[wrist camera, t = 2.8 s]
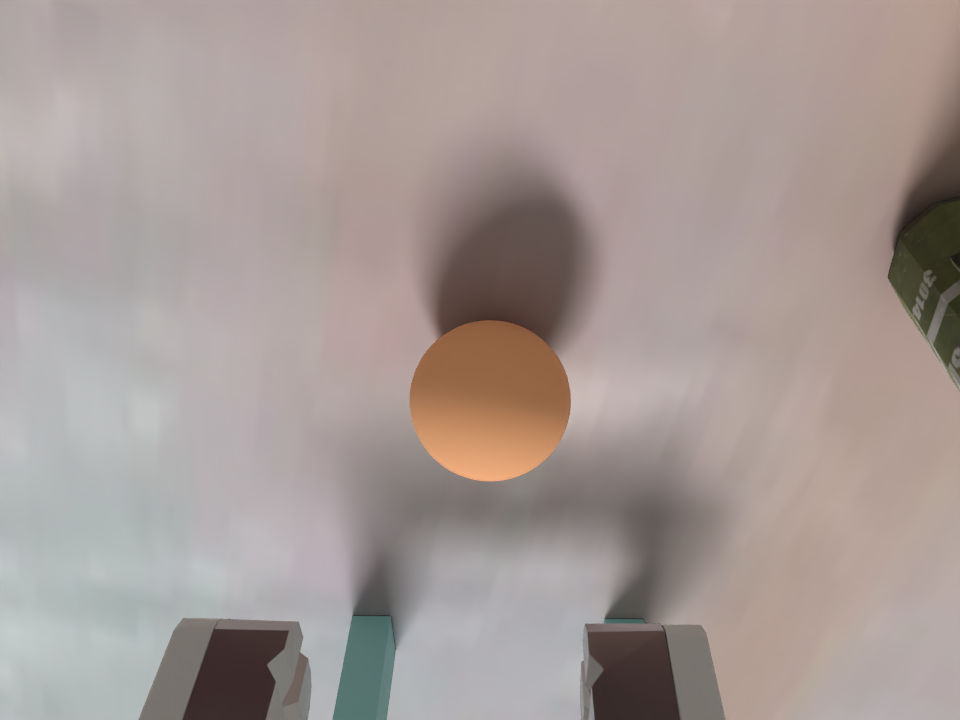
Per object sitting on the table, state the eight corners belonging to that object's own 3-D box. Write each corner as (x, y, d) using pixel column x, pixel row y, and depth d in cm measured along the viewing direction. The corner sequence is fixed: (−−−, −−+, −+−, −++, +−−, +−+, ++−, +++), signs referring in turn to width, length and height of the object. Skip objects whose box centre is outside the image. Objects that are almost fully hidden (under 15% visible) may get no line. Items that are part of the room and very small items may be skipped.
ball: (422, 412, 36) (408, 515, 31) (412, 290, 33) (394, 384, 28) (564, 412, 36) (572, 516, 31) (569, 289, 32) (578, 384, 27)
